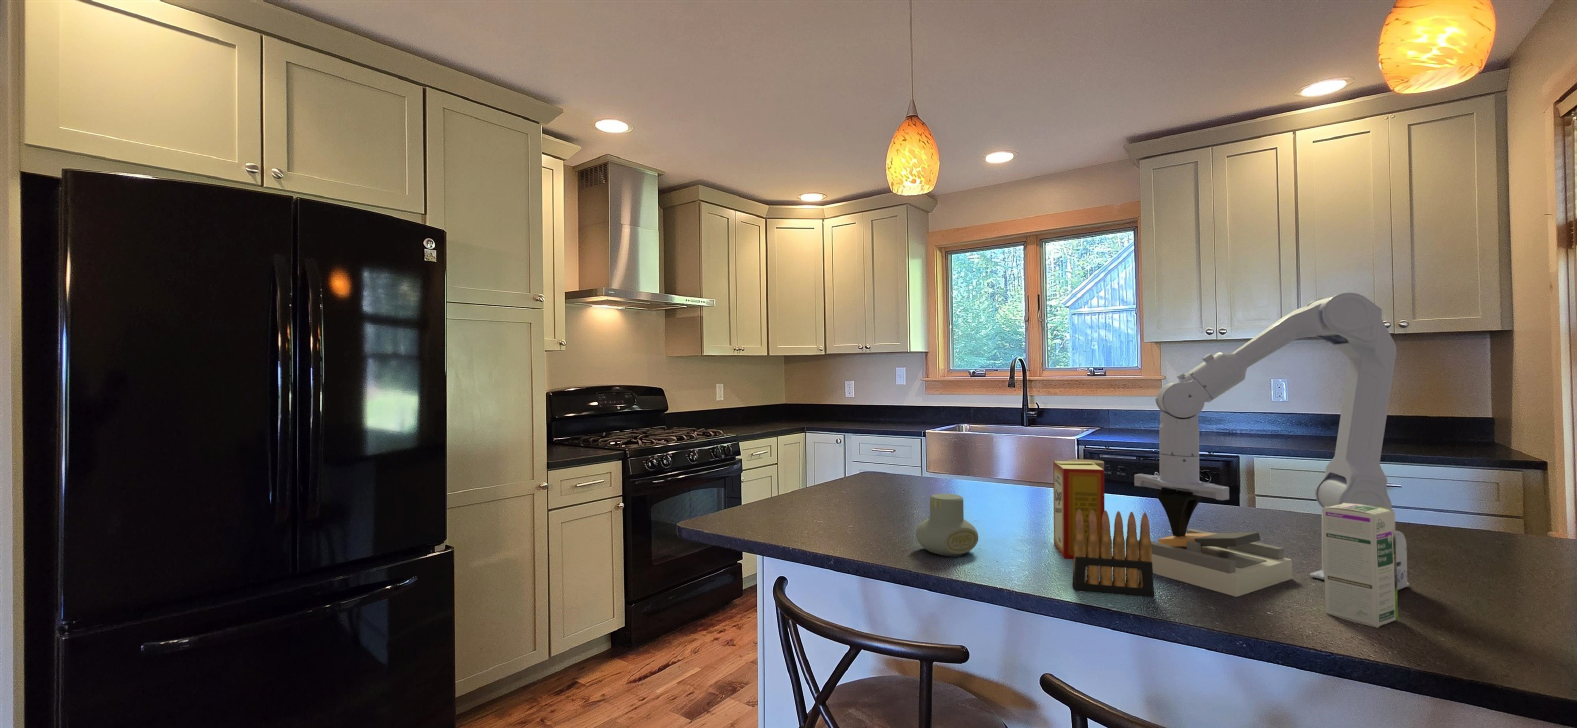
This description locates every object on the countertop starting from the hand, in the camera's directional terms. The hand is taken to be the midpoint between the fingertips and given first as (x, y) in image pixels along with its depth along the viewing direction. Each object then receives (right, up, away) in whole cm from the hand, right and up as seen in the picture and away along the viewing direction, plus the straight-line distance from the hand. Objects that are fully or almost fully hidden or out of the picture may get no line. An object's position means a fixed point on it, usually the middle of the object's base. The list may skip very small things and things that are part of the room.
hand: (1179, 535), depth 108 cm
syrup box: (+10, -5, -22) cm, 25 cm away
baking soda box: (-13, -5, +8) cm, 16 cm away
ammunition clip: (-17, -5, -13) cm, 22 cm away
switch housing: (+2, -5, -4) cm, 7 cm away
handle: (-8, -5, +17) cm, 19 cm away
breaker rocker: (+2, 0, -4) cm, 5 cm away
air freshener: (-37, -5, +9) cm, 38 cm away
